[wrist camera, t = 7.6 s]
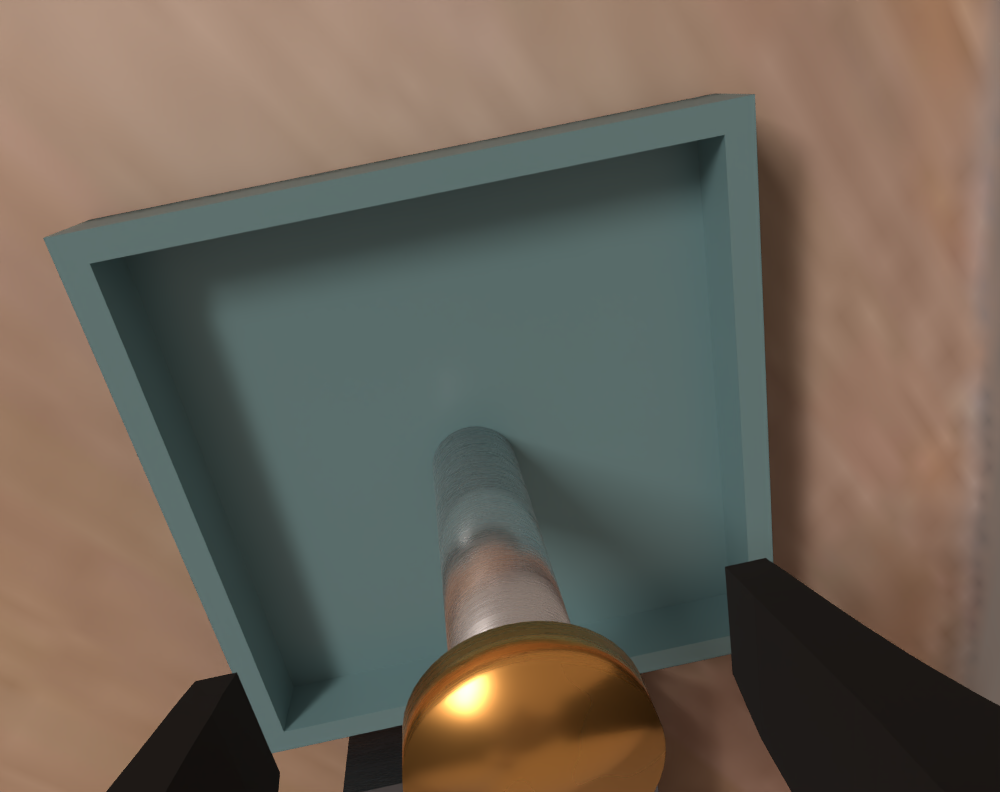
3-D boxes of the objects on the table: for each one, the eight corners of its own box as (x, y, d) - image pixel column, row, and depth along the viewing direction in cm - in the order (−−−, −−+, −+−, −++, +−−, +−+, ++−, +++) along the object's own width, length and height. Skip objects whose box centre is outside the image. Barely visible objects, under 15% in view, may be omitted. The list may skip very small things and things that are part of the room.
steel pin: (554, 510, 18) (676, 831, 10) (419, 539, 18) (433, 891, 10) (532, 384, 17) (653, 636, 9) (387, 415, 17) (373, 701, 9)
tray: (744, 594, 20) (776, 644, 19) (281, 693, 20) (267, 754, 18) (714, 93, 15) (755, 93, 13) (89, 219, 15) (43, 238, 13)
